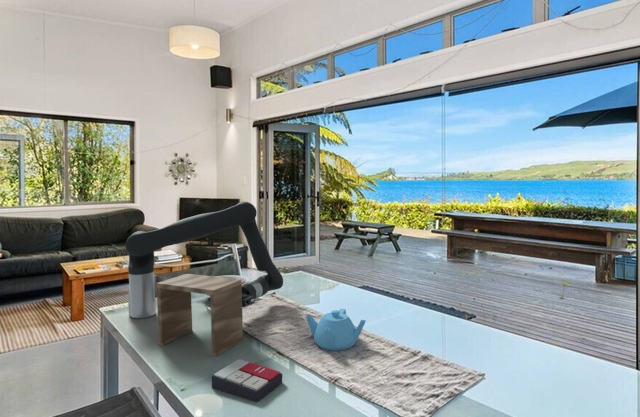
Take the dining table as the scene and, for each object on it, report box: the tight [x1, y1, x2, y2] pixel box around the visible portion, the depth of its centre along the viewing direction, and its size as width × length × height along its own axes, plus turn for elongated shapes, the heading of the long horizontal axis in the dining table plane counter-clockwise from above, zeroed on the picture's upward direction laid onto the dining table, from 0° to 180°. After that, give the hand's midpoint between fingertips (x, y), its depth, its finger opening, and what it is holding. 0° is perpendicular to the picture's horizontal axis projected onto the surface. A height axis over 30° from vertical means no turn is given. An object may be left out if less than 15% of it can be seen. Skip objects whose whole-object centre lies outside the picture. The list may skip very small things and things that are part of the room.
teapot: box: [305, 308, 367, 352], centre depth 135 cm, size 15×15×11 cm
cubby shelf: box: [155, 273, 244, 358], centre depth 137 cm, size 23×14×20 cm, turn 66°
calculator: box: [211, 358, 283, 403], centre depth 109 cm, size 11×4×15 cm
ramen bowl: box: [205, 274, 250, 297], centre depth 189 cm, size 25×23×8 cm
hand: (222, 305), depth 147 cm, fingers closed on syrup box, 6 cm apart
